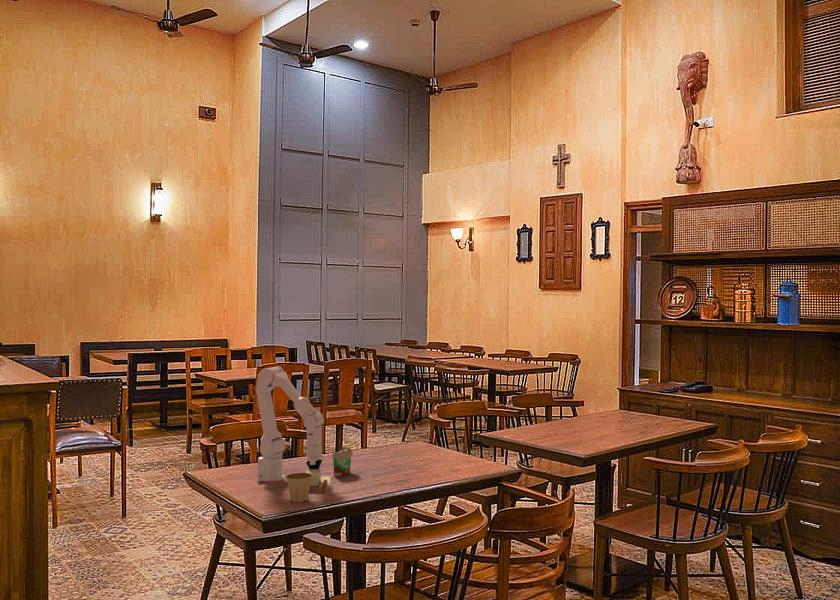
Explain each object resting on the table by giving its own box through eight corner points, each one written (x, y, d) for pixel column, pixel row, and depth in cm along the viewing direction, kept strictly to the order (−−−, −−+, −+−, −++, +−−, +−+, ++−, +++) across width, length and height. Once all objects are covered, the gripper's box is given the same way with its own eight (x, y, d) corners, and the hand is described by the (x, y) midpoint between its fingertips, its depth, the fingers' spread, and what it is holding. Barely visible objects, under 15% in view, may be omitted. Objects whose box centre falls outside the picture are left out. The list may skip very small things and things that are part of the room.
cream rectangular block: (304, 489, 259) (304, 475, 259) (307, 482, 269) (307, 468, 269) (318, 489, 259) (318, 474, 259) (320, 482, 269) (320, 468, 269)
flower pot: (289, 505, 241) (288, 480, 241) (283, 498, 249) (282, 474, 249) (315, 502, 245) (315, 477, 245) (308, 495, 253) (308, 471, 253)
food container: (347, 479, 276) (347, 453, 276) (332, 478, 277) (332, 453, 277) (356, 471, 288) (356, 447, 288) (342, 470, 289) (342, 446, 289)
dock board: (293, 494, 255) (293, 488, 255) (301, 477, 278) (301, 473, 278) (326, 493, 255) (326, 488, 255) (331, 477, 278) (331, 472, 278)
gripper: (323, 447, 263) (323, 484, 263) (326, 440, 277) (326, 474, 277) (304, 448, 263) (304, 484, 263) (308, 440, 277) (308, 474, 277)
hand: (314, 479), depth 270 cm, fingers closed
